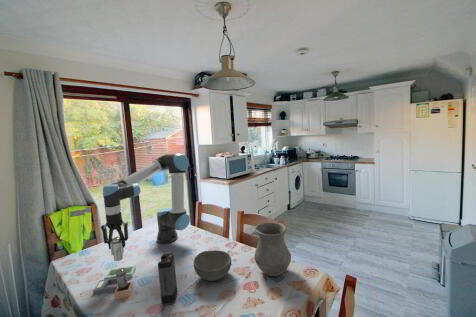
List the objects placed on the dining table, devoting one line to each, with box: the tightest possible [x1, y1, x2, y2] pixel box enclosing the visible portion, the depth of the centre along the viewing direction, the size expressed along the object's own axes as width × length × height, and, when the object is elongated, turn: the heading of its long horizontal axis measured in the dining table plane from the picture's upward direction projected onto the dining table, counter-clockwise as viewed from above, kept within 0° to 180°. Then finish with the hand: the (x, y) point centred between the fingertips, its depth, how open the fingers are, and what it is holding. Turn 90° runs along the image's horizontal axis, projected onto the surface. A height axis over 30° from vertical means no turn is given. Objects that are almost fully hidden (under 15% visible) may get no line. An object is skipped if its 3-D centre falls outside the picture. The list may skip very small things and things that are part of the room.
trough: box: [103, 265, 137, 280], centre depth 125 cm, size 14×8×3 cm, turn 101°
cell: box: [112, 236, 124, 262], centre depth 124 cm, size 4×4×13 cm
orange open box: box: [114, 281, 134, 300], centre depth 110 cm, size 6×6×4 cm
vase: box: [254, 221, 292, 277], centre depth 120 cm, size 20×19×25 cm
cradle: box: [92, 278, 118, 295], centre depth 116 cm, size 12×8×3 cm
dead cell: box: [116, 267, 129, 291], centre depth 110 cm, size 4×4×13 cm
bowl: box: [193, 249, 232, 282], centre depth 121 cm, size 20×20×10 cm
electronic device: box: [157, 252, 178, 306], centre depth 105 cm, size 9×6×20 cm, turn 5°
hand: (117, 253), depth 124 cm, fingers closed on cell, 4 cm apart
